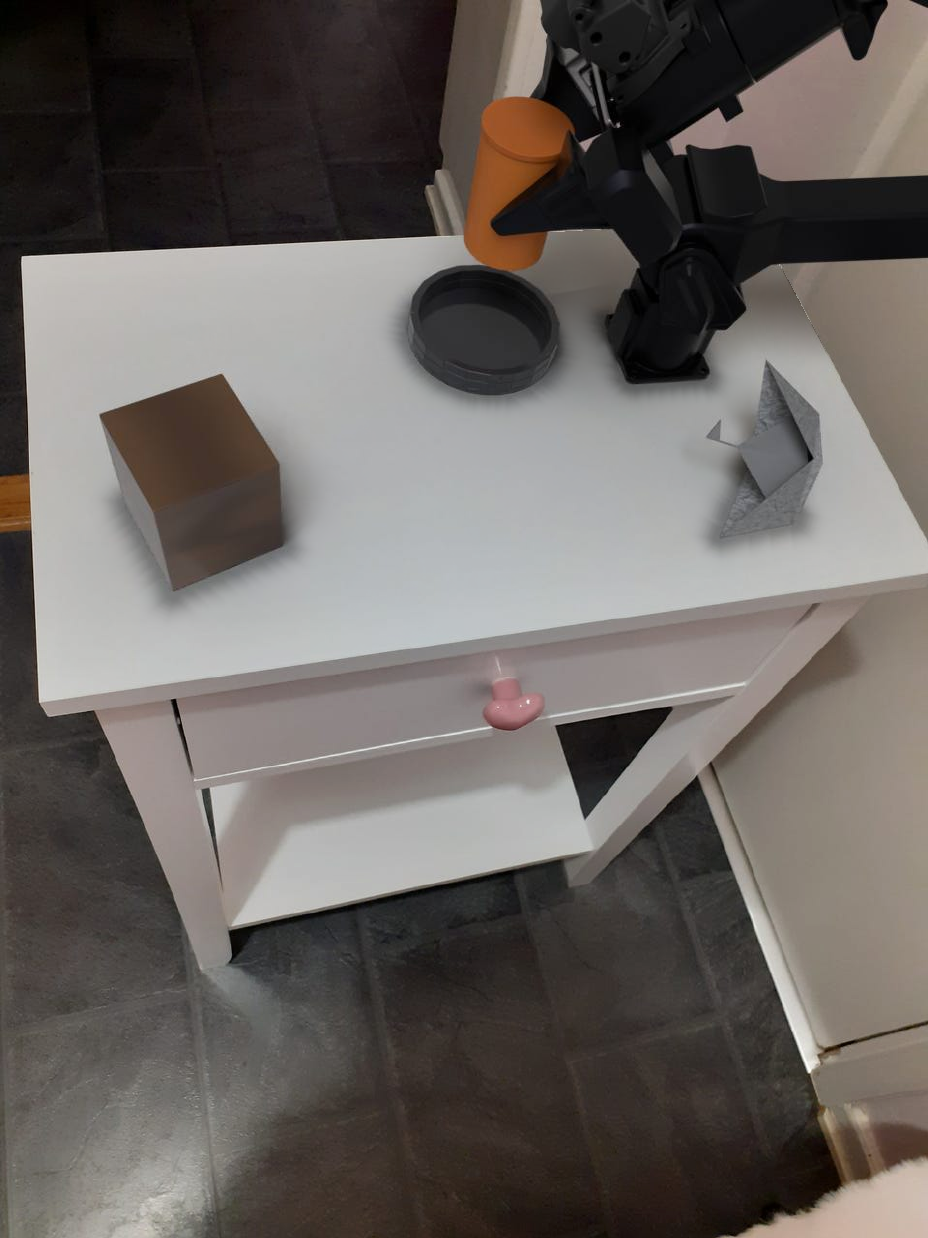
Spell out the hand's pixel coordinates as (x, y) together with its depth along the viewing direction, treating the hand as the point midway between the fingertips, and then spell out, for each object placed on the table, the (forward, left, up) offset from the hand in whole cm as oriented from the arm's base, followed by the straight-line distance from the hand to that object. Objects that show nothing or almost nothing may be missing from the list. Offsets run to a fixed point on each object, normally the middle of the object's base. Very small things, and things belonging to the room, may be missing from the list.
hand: (490, 197), depth 56 cm
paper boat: (-17, +14, -12) cm, 25 cm away
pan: (-1, 0, -11) cm, 12 cm away
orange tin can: (-1, 0, -3) cm, 3 cm away
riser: (+19, +14, -11) cm, 26 cm away
